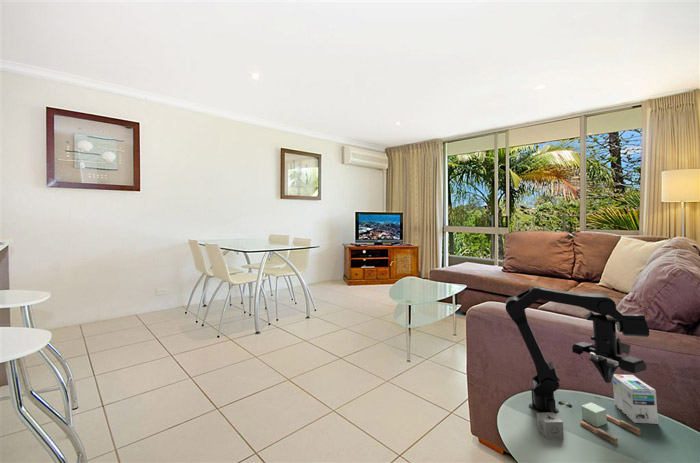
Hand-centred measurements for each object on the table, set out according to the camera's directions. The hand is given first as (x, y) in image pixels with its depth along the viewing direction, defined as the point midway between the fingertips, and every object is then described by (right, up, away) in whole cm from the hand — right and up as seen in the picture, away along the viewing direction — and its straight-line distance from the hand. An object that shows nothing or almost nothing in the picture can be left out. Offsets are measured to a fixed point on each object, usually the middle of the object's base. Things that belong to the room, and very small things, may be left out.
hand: (607, 382), depth 101 cm
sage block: (-4, -12, 0) cm, 13 cm away
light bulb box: (+11, -12, +2) cm, 16 cm away
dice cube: (-21, -14, -4) cm, 25 cm away
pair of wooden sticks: (-3, -12, -4) cm, 13 cm away
